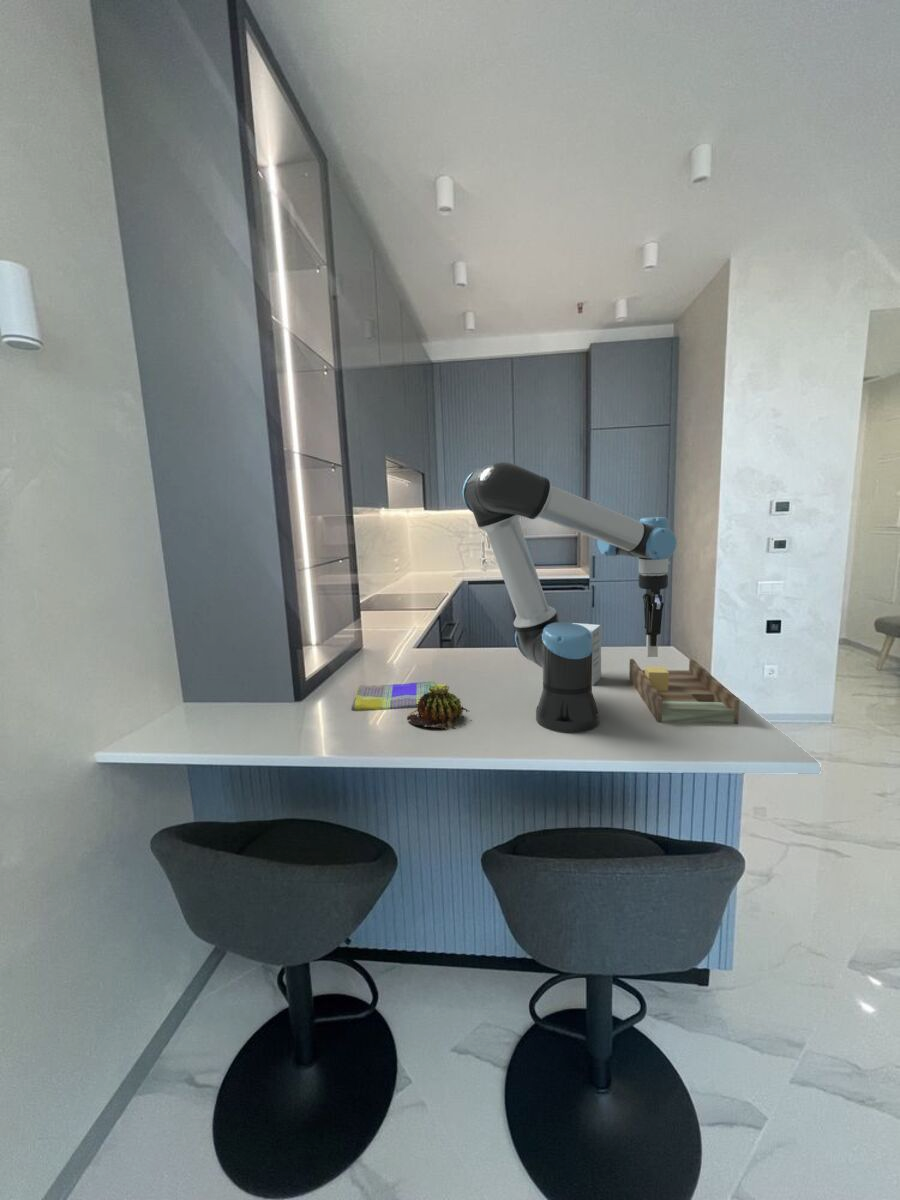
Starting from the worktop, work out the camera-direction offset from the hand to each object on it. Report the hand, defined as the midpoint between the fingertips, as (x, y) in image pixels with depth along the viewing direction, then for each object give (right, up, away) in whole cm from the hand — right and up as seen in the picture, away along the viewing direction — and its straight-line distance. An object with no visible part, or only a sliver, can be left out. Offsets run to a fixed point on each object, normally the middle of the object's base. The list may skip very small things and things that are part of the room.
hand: (651, 656), depth 142 cm
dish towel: (-73, -13, +2) cm, 74 cm away
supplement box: (-17, -9, +11) cm, 22 cm away
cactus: (-60, -15, -14) cm, 63 cm away
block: (-1, -8, -6) cm, 10 cm away
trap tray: (+4, -11, -7) cm, 14 cm away
